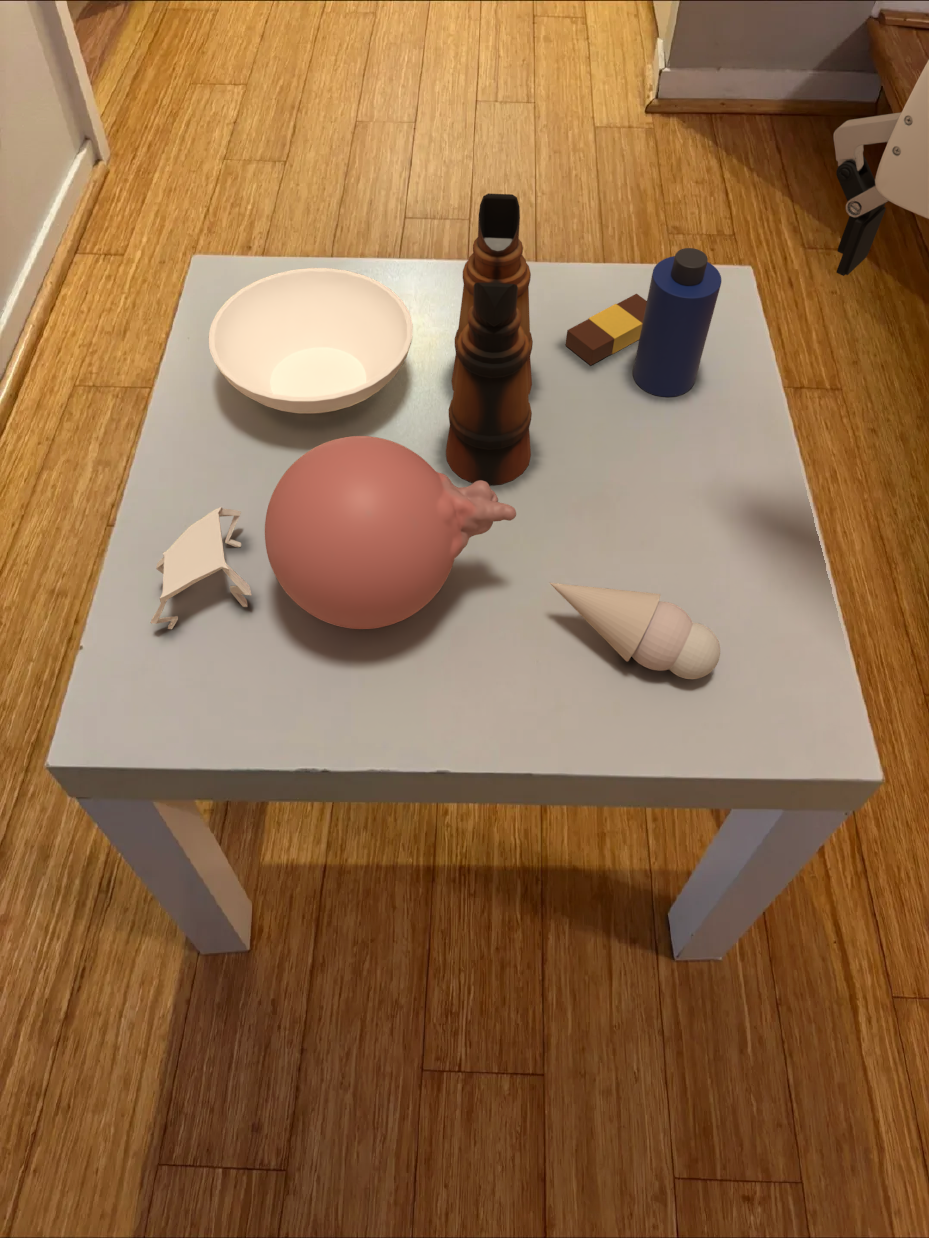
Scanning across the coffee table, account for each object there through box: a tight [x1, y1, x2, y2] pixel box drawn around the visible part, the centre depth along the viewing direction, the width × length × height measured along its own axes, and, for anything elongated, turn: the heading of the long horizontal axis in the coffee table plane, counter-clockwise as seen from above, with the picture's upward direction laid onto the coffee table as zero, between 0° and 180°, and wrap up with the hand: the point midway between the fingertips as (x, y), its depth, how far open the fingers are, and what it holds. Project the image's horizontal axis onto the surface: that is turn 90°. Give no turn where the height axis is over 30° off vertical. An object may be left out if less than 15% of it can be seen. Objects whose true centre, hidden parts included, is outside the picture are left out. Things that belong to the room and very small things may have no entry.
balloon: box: [264, 435, 517, 630], centre depth 79 cm, size 15×20×15 cm
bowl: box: [208, 267, 414, 414], centre depth 97 cm, size 20×20×7 cm
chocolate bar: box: [565, 293, 647, 366], centre depth 104 cm, size 10×4×2 cm, turn 128°
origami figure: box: [150, 506, 252, 630], centre depth 83 cm, size 12×8×5 cm
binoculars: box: [445, 193, 534, 486], centre depth 89 cm, size 18×8×20 cm, turn 177°
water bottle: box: [632, 247, 722, 398], centre depth 95 cm, size 6×6×14 cm
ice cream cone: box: [549, 582, 721, 680], centre depth 80 cm, size 6×6×15 cm
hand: (917, 296), depth 64 cm, fingers open, 9 cm apart
